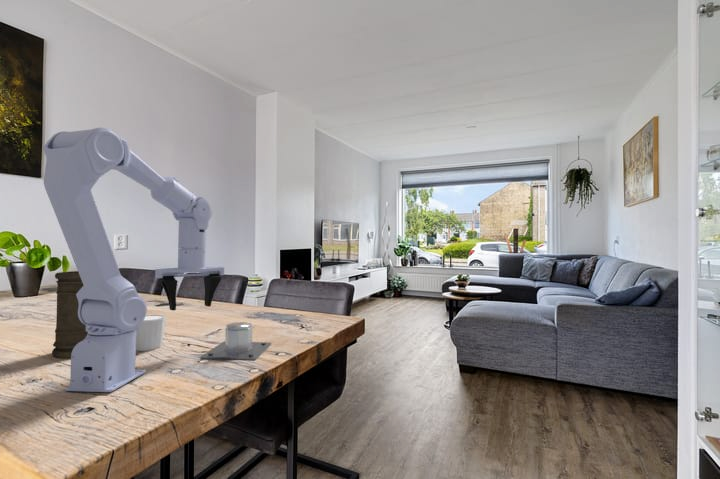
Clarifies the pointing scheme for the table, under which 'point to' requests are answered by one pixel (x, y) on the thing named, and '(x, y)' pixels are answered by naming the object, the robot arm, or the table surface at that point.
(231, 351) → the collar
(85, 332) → the container
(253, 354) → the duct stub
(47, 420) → the table surface
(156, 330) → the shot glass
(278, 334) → the table surface
